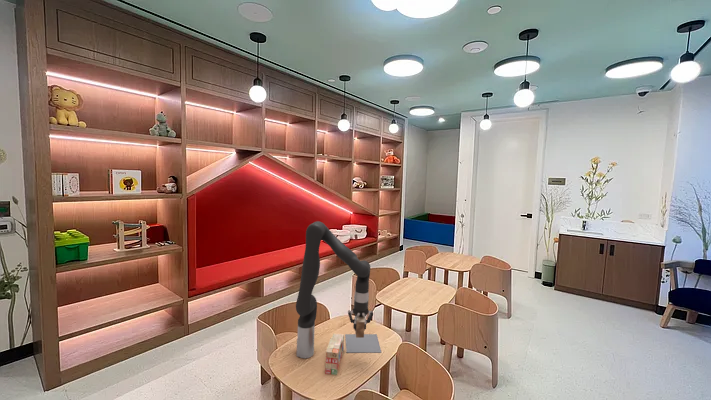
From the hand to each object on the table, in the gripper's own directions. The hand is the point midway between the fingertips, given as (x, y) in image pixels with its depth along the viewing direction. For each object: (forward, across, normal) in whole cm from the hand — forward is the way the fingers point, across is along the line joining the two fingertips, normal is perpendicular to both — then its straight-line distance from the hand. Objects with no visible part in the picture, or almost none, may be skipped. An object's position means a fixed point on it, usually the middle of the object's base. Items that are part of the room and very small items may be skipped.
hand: (359, 329), depth 154 cm
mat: (+19, +4, +17) cm, 26 cm away
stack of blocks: (+19, -12, +1) cm, 23 cm away
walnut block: (+2, 0, 0) cm, 2 cm away
